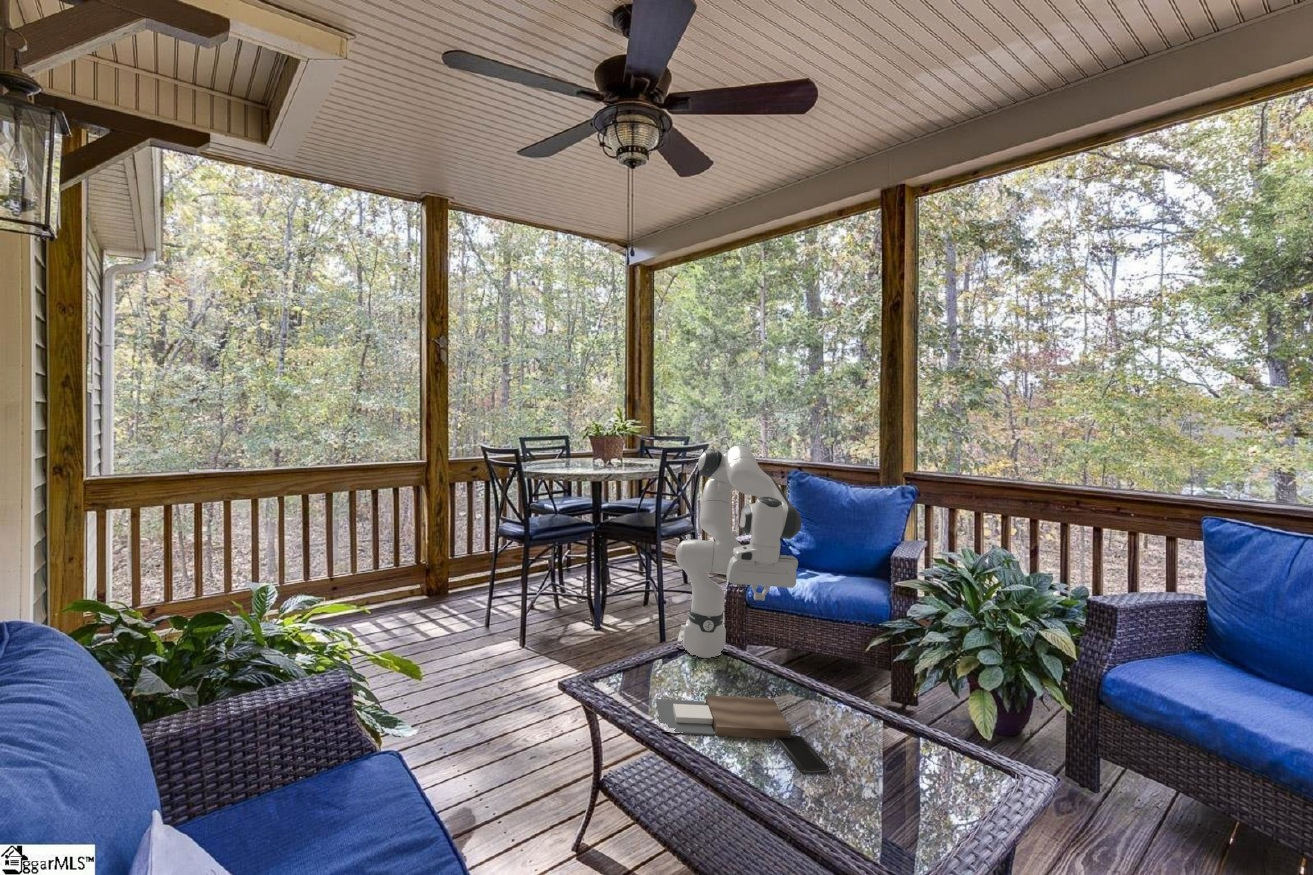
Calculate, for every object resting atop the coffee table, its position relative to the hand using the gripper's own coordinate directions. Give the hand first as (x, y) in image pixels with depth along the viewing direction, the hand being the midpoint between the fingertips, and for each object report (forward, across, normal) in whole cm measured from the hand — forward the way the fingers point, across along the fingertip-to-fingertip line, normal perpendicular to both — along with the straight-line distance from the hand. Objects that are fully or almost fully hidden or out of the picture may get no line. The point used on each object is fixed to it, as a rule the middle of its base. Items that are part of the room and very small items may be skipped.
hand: (758, 599), depth 178 cm
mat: (+31, +20, +10) cm, 39 cm away
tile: (+31, +18, +11) cm, 37 cm away
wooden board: (+31, +3, +10) cm, 33 cm away
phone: (+32, -8, +26) cm, 42 cm away
